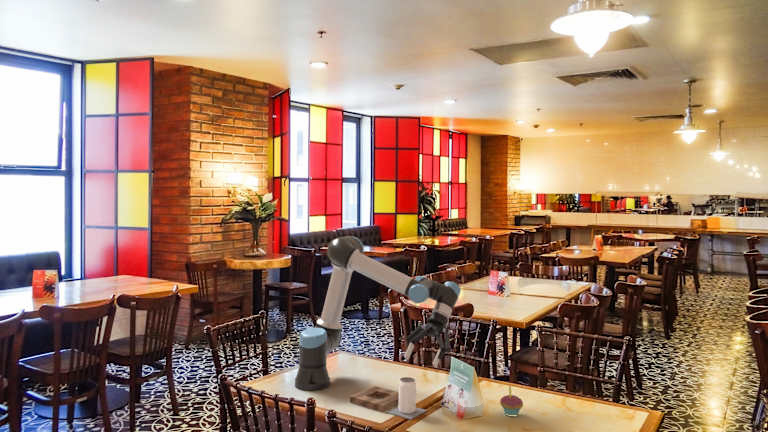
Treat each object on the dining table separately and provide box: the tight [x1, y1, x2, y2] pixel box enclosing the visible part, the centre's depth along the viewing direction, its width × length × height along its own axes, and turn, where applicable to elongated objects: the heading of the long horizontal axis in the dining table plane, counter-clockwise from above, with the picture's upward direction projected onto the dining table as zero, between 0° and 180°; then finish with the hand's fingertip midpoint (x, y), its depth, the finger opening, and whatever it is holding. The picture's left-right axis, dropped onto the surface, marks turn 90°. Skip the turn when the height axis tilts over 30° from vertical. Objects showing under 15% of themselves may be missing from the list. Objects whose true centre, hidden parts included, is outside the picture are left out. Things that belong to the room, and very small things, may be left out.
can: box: [398, 376, 417, 414], centre depth 217 cm, size 6×6×12 cm
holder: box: [349, 385, 399, 413], centre depth 227 cm, size 16×16×2 cm
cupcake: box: [499, 385, 524, 415], centre depth 216 cm, size 9×8×12 cm
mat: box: [386, 405, 428, 421], centre depth 217 cm, size 11×11×1 cm
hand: (419, 362), depth 227 cm, fingers open, 13 cm apart
